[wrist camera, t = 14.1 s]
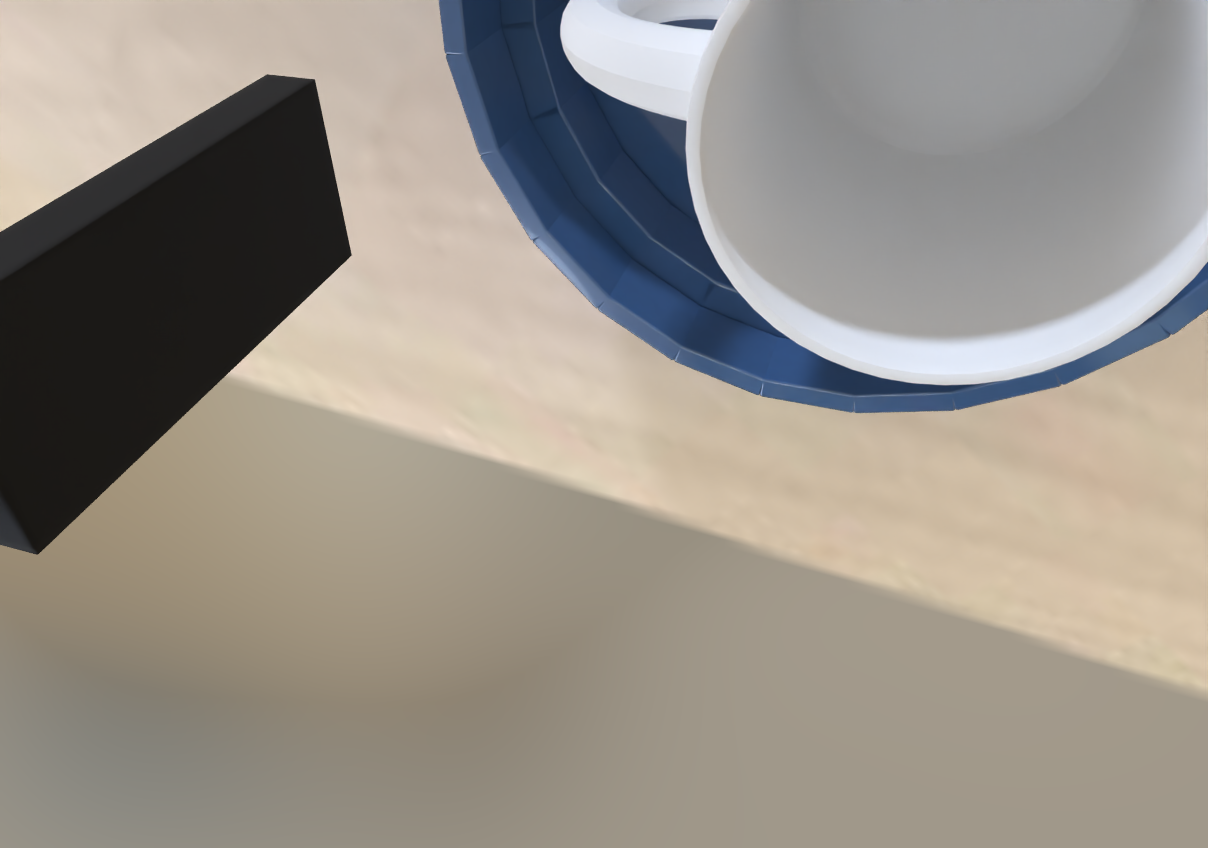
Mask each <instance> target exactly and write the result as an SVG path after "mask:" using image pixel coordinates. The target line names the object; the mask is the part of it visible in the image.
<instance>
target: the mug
mask: <svg viewBox="0 0 1208 848" xmlns="http://www.w3.org/2000/svg"><path fill="white" fill-rule="evenodd" d="M687 19H717V20H718V21H717V23H716V25H715V27H714V29H713V30H702V29H693V28H684V27H677V26H671V25H664V24H659V23H663V22H669V21H676V20H687ZM560 37H561V41H562V46H563V50H564V52H565V54H566V56H567V58H568V60H569V62H570V63H571V65H572V66H573V67H574V69H575V70H576V72H577V73H578V74H579V75H580V76H581V77H582V78H583V79H584V80H585V81H587V82H588V83H590V84H592V85H593V86H595V87H596V88H598V89H600V90H601V91H603V92H605V93H606V94H608V95H610V96H612V97H614V98H616V99H618V100H621V101H623V102H625V103H627V104H630V105H633V106H636V107H639V108H642V109H644V110H647V111H651V112H654V113H658V114H661V115H665V116H668V117H672V118H676V119H680V120H684V121H687V128H686V160H687V171H688V181H689V185H690V190H691V195H692V199H693V204H694V208H695V212H696V214H697V217H698V220H699V223H700V225H701V228H702V231H703V234H704V237H705V239H706V241H707V243H708V245H709V247H710V249H711V251H712V253H713V255H714V257H715V258H716V260H717V262H718V264H719V266H720V267H721V269H722V270H723V272H724V273H725V274H726V276H727V277H728V279H729V280H730V282H731V283H732V285H733V286H734V287H735V289H736V290H737V291H738V292H739V293H740V294H741V295H742V297H743V298H744V299H745V300H746V301H747V302H748V303H749V304H750V306H751V307H752V308H753V309H754V310H755V311H756V312H757V313H759V314H760V315H761V316H762V317H763V318H764V319H765V320H766V321H768V322H769V323H770V324H771V325H772V326H773V327H774V328H776V329H777V330H778V331H780V332H781V333H783V334H784V335H786V336H787V337H789V338H790V339H791V340H793V341H794V342H796V343H797V344H799V345H801V346H802V347H804V348H806V349H808V350H810V351H812V352H814V353H815V354H817V355H819V356H821V357H823V358H825V359H827V360H830V361H832V362H835V363H837V364H840V365H842V366H845V367H847V368H850V369H852V370H855V371H859V372H863V373H866V374H870V375H873V376H877V377H880V378H885V379H891V380H897V381H903V382H909V383H918V384H933V385H964V384H981V383H988V382H995V381H1003V380H1010V379H1014V378H1018V377H1022V376H1026V375H1030V374H1035V373H1039V372H1043V371H1046V370H1048V369H1051V368H1054V367H1057V366H1060V365H1063V364H1066V363H1068V362H1071V361H1074V360H1076V359H1079V358H1081V357H1083V356H1085V355H1087V354H1089V353H1091V352H1093V351H1096V350H1098V349H1100V348H1102V347H1104V346H1106V345H1108V344H1110V343H1111V342H1113V341H1115V340H1116V339H1118V338H1120V337H1121V336H1123V335H1125V334H1126V333H1128V332H1130V331H1131V330H1133V329H1135V328H1136V327H1138V326H1139V325H1141V324H1142V323H1143V322H1144V321H1146V320H1147V319H1148V318H1150V317H1151V316H1152V315H1154V314H1155V313H1156V312H1158V311H1159V310H1160V309H1161V308H1163V307H1164V306H1165V305H1167V304H1168V303H1169V302H1170V301H1171V300H1172V299H1173V298H1174V297H1175V296H1176V295H1177V294H1178V293H1179V292H1180V291H1181V290H1182V289H1183V288H1184V287H1185V286H1187V285H1188V284H1189V283H1190V282H1191V281H1192V280H1193V279H1194V278H1195V276H1196V275H1197V274H1198V273H1199V272H1200V270H1201V269H1202V268H1203V267H1204V266H1205V264H1206V263H1207V262H1208V0H570V1H569V3H568V4H567V6H566V8H565V10H564V12H563V15H562V21H561V26H560Z"/></svg>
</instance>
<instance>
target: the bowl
mask: <svg viewBox="0 0 1208 848" xmlns="http://www.w3.org/2000/svg"><path fill="white" fill-rule="evenodd" d="M569 1H570V0H439V7H440V15H441V24H442V33H443V41H444V50H445V53H446V54H447V55H446V59H447V62H448V65H449V68H450V70H451V73H452V76H453V79H454V82H455V85H456V88H457V91H458V94H459V97H460V99H461V102H462V105H463V108H464V111H465V114H466V117H467V120H468V123H469V126H470V128H471V131H472V134H473V137H474V140H475V143H476V146H477V149H478V152H479V154H480V155H481V156H480V157H481V159H482V161H483V162H484V164H485V166H486V167H487V169H488V171H489V172H490V174H491V175H492V177H493V179H494V180H495V182H496V184H497V185H498V187H499V189H500V190H501V192H502V193H503V195H504V197H505V198H506V200H507V202H508V203H509V205H510V207H511V208H512V210H513V212H514V213H515V215H516V216H517V218H518V220H519V221H520V223H521V225H522V226H523V228H524V230H525V231H526V233H527V234H528V236H529V238H530V239H531V240H533V243H534V244H535V245H536V246H537V247H538V248H539V249H540V250H541V251H542V252H543V253H544V254H545V255H546V256H547V257H548V258H549V260H550V261H551V262H552V263H553V264H554V265H555V266H556V267H557V268H558V269H559V270H560V271H561V272H562V273H563V274H564V275H565V276H566V277H567V278H568V279H569V280H570V282H571V283H572V284H573V285H574V286H575V287H576V288H577V289H578V290H579V291H580V292H581V293H582V294H583V295H584V296H585V297H586V298H587V299H588V300H589V301H590V302H591V304H592V305H593V306H594V307H595V308H598V310H599V311H600V312H602V313H603V314H605V315H606V316H608V317H609V318H611V319H612V320H614V321H615V322H617V323H618V324H620V325H621V326H622V327H624V328H625V329H627V330H628V331H630V332H631V333H633V334H634V335H636V336H637V337H639V338H640V339H642V340H643V341H645V342H646V343H648V344H649V345H650V346H652V347H653V348H655V349H656V350H658V351H659V352H661V353H662V354H664V355H665V356H667V357H668V358H670V359H671V360H675V362H677V363H680V364H682V365H685V366H687V367H690V368H692V369H694V370H697V371H699V372H702V373H704V374H707V375H709V376H712V377H714V378H717V379H719V380H722V381H724V382H727V383H729V384H731V385H734V386H736V387H739V388H741V389H744V390H746V391H749V392H751V393H754V394H756V395H759V394H760V395H761V396H763V397H768V398H774V399H780V400H785V401H791V402H796V403H802V404H807V405H813V406H818V407H824V408H829V409H835V410H840V411H846V412H853V411H854V412H855V413H879V412H919V411H953V410H955V409H956V410H959V409H964V408H968V407H972V406H977V405H981V404H985V403H990V402H994V401H998V400H1003V399H1007V398H1011V397H1016V396H1020V395H1024V394H1029V393H1033V392H1037V391H1042V390H1046V389H1050V388H1055V387H1059V386H1061V384H1063V385H1065V384H1067V383H1069V382H1072V381H1074V380H1076V379H1078V378H1080V377H1082V376H1085V375H1087V374H1089V373H1091V372H1093V371H1096V370H1098V369H1100V368H1102V367H1104V366H1107V365H1109V364H1111V363H1113V362H1115V361H1118V360H1120V359H1122V358H1124V357H1126V356H1128V355H1131V354H1133V353H1135V352H1137V351H1139V350H1142V349H1144V348H1146V347H1148V346H1150V345H1153V344H1155V343H1157V342H1159V341H1161V340H1163V339H1166V338H1168V337H1169V336H1170V335H1171V334H1172V335H1173V334H1175V333H1176V332H1178V331H1179V330H1180V329H1182V328H1183V327H1185V326H1186V325H1187V324H1189V323H1190V322H1191V321H1193V320H1194V319H1195V318H1197V317H1198V316H1199V315H1201V314H1202V313H1204V312H1205V311H1206V310H1208V262H1207V263H1206V264H1205V266H1204V267H1203V268H1202V269H1201V270H1200V272H1199V273H1198V274H1197V275H1196V276H1195V278H1194V279H1193V280H1192V281H1191V282H1190V283H1189V284H1188V285H1187V286H1185V287H1184V288H1183V289H1182V290H1181V291H1180V292H1179V293H1178V294H1177V295H1176V296H1175V297H1174V298H1173V299H1172V300H1171V301H1170V302H1169V303H1168V304H1167V305H1165V306H1164V307H1163V308H1161V309H1160V310H1159V311H1158V312H1156V313H1155V314H1154V315H1152V316H1151V317H1150V318H1148V319H1147V320H1146V321H1144V322H1143V323H1142V324H1141V325H1139V326H1138V327H1136V328H1135V329H1133V330H1131V331H1130V332H1128V333H1126V334H1125V335H1123V336H1121V337H1120V338H1118V339H1116V340H1115V341H1113V342H1111V343H1110V344H1108V345H1106V346H1104V347H1102V348H1100V349H1098V350H1096V351H1093V352H1091V353H1089V354H1087V355H1085V356H1083V357H1081V358H1079V359H1076V360H1074V361H1071V362H1068V363H1066V364H1063V365H1060V366H1057V367H1054V368H1051V369H1048V370H1046V371H1043V372H1039V373H1035V374H1030V375H1026V376H1022V377H1018V378H1014V379H1010V380H1003V381H995V382H988V383H981V384H964V385H933V384H918V383H909V382H903V381H897V380H891V379H885V378H880V377H877V376H873V375H870V374H866V373H863V372H859V371H855V370H852V369H850V368H847V367H845V366H842V365H840V364H837V363H835V362H832V361H830V360H827V359H825V358H823V357H821V356H819V355H817V354H815V353H814V352H812V351H810V350H808V349H806V348H804V347H802V346H801V345H799V344H797V343H796V342H794V341H793V340H791V339H790V338H789V337H787V336H786V335H784V334H783V333H781V332H780V331H778V330H777V329H776V328H774V327H773V326H772V325H771V324H770V323H769V322H768V321H766V320H765V319H764V318H763V317H762V316H761V315H760V314H759V313H757V312H756V311H755V310H754V309H753V308H752V307H751V306H750V304H749V303H748V302H747V301H746V300H745V299H744V298H743V297H742V295H741V294H740V293H739V292H738V291H737V290H736V289H735V287H734V286H733V285H732V283H731V282H730V280H729V279H728V277H727V276H726V274H725V273H724V272H723V270H722V269H721V267H720V266H719V264H718V262H717V260H716V258H715V257H714V255H713V253H712V251H711V249H710V247H709V245H708V243H707V241H706V239H705V237H704V234H703V231H702V228H701V225H700V223H699V220H698V217H697V214H696V212H695V208H694V204H693V199H692V195H691V190H690V185H689V181H688V171H687V160H686V128H687V121H684V120H680V119H676V118H672V117H668V116H665V115H661V114H658V113H654V112H651V111H647V110H644V109H642V108H639V107H636V106H633V105H630V104H627V103H625V102H623V101H621V100H618V99H616V98H614V97H612V96H610V95H608V94H606V93H605V92H603V91H601V90H600V89H598V88H596V87H595V86H593V85H592V84H590V83H588V82H587V81H585V80H584V79H583V78H582V77H581V76H580V75H579V74H578V73H577V72H576V70H575V69H574V67H573V66H572V65H571V63H570V62H569V60H568V58H567V56H566V54H565V52H564V50H563V46H562V41H561V37H560V26H561V21H562V15H563V12H564V10H565V8H566V6H567V4H568V3H569ZM717 21H718V20H717V19H687V20H676V21H669V22H663V23H659V24H664V25H671V26H677V27H684V28H693V29H702V30H713V29H714V27H715V25H716V23H717Z"/></svg>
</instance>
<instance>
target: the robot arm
mask: <svg viewBox="0 0 1208 848" xmlns="http://www.w3.org/2000/svg"><path fill="white" fill-rule="evenodd" d="M350 256H352V255H351V250H350V245H349V240H348V236H347V231H346V226H345V221H344V216H343V212H342V207H341V202H340V197H339V193H338V188H337V183H336V178H335V173H334V169H333V164H332V159H331V154H330V149H329V145H328V140H327V135H326V130H325V126H324V121H323V116H322V111H321V106H320V102H319V97H318V92H317V87H316V83H315V80H314V79H305V78H295V77H286V76H276V75H266V76H264V77H262V78H260V79H259V80H257V81H255V82H254V83H252V84H250V85H249V86H247V87H245V88H244V89H242V90H240V91H238V92H237V93H235V94H233V95H232V96H230V97H228V98H227V99H225V100H223V101H222V102H220V103H218V104H216V105H215V106H213V107H211V108H210V109H208V110H206V111H205V112H203V113H201V114H199V115H198V116H196V117H194V118H193V119H191V120H189V121H188V122H186V123H184V124H183V125H181V126H179V127H177V128H176V129H174V130H172V131H171V132H169V133H167V134H166V135H164V136H162V137H161V138H159V139H157V140H155V141H154V142H152V143H150V144H149V145H147V146H145V147H144V148H142V149H140V150H139V151H137V152H135V153H133V154H132V155H130V156H128V157H127V158H125V159H123V160H122V161H120V162H118V163H117V164H115V165H113V166H111V167H110V168H108V169H106V170H105V171H103V172H101V173H100V174H98V175H96V176H95V177H93V178H91V179H89V180H88V181H86V182H84V183H83V184H81V185H79V186H78V187H76V188H74V189H73V190H71V191H69V192H67V193H66V194H64V195H62V196H61V197H59V198H57V199H56V200H54V201H52V202H51V203H49V204H47V205H45V206H44V207H42V208H40V209H39V210H37V211H35V212H34V213H32V214H30V215H28V216H27V217H25V218H23V219H22V220H20V221H18V222H17V223H15V224H13V225H12V226H10V227H8V228H6V229H5V230H3V231H1V232H0V545H3V546H7V547H11V548H14V549H18V550H22V551H26V552H29V553H33V554H39V553H40V552H41V551H42V550H43V549H44V548H45V547H46V546H47V545H48V544H50V543H51V542H52V541H53V540H54V539H55V538H56V537H57V536H58V535H59V534H60V533H61V532H62V531H63V530H64V529H65V528H66V527H67V526H68V525H69V524H70V523H71V522H73V521H74V520H75V519H76V518H77V517H78V516H79V515H80V514H81V513H82V512H83V511H84V510H85V509H86V508H87V507H88V506H89V505H90V504H91V503H93V502H94V501H95V500H96V499H97V498H98V497H99V496H100V495H101V494H102V493H103V492H104V491H105V490H106V489H107V488H108V487H109V486H110V485H111V484H112V483H114V482H115V481H116V480H117V479H118V478H119V477H120V476H121V475H122V474H123V473H124V472H125V471H126V470H127V469H128V468H129V467H130V466H131V465H132V464H133V463H134V462H135V461H137V460H138V459H139V458H140V457H141V456H142V455H143V454H144V453H145V452H146V451H147V450H148V449H149V448H150V447H151V446H152V445H153V444H154V443H155V442H156V441H158V440H159V439H160V438H161V437H162V436H163V435H164V434H165V433H166V432H167V431H168V430H169V429H170V428H171V427H172V426H173V425H174V424H175V423H176V422H177V421H179V419H181V418H182V416H184V415H185V414H186V413H187V412H188V411H189V410H190V409H191V408H192V407H193V406H194V405H195V404H196V403H197V402H198V401H199V400H201V398H202V397H204V396H205V395H206V394H207V393H208V392H209V391H210V390H211V389H212V388H213V387H214V386H215V385H216V384H217V383H218V382H219V381H220V380H222V379H223V378H224V377H225V376H226V375H227V374H228V373H229V372H230V371H231V370H232V369H233V368H234V367H235V366H236V365H237V364H238V363H239V362H240V361H241V360H242V359H244V358H245V357H246V356H247V355H248V354H249V353H250V352H251V351H252V350H253V349H254V348H255V347H256V346H257V345H258V344H259V343H260V342H261V341H262V340H263V339H264V338H266V337H267V336H268V335H269V334H270V333H271V332H272V331H273V330H274V329H275V328H276V327H277V326H278V325H279V324H280V323H281V322H282V321H283V320H284V319H285V318H287V317H288V316H289V315H290V314H291V313H292V312H293V311H294V310H295V309H296V308H297V307H298V306H299V305H300V304H301V303H302V302H303V301H304V300H305V299H306V298H307V297H309V296H310V295H311V294H312V293H313V292H314V291H315V290H316V289H317V288H318V287H319V286H320V285H321V284H322V283H323V282H324V281H325V280H326V279H327V278H328V277H330V276H331V275H332V274H333V273H334V272H335V271H336V270H337V269H338V268H339V267H340V266H341V265H342V264H343V263H344V262H345V261H346V260H347V259H348V258H349V257H350Z"/></svg>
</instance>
